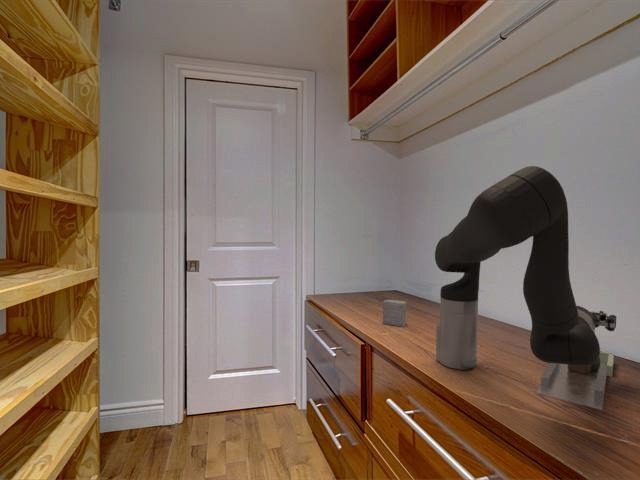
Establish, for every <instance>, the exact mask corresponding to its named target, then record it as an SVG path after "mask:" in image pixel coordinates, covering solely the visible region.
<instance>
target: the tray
mask: <svg viewBox="0 0 640 480" xmlns="http://www.w3.org/2000/svg"><path fill="white" fill-rule="evenodd" d="M614 354H615V353H613V352H608V351H607V352H606V351H601V350H600V355H599V357H600V362H605V363H607V377H610V378H611V377H613V373H614V361H615V360H614V359H615V358H614V357H615V355H614Z"/></svg>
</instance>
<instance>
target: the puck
mask: <svg viewBox="0 0 640 480" xmlns="http://www.w3.org/2000/svg"><path fill="white" fill-rule="evenodd" d="M599 367H600V357H599V358H598V360H597V361H596V362H595V363H594V364H591V371H598V369H599Z"/></svg>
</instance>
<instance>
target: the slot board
mask: <svg viewBox="0 0 640 480" xmlns="http://www.w3.org/2000/svg"><path fill="white" fill-rule="evenodd" d="M607 377H608V376H607V363H605V362H600V367H599V369H598V371H590V372H589V373H587V374H582V373H578V372H575V371H571V370H568V364H558V363H548V365H547V366H546V368H545V369H544V371H543V372H542V374H541V376H540V386H539V387H538V388H537V390H536V393H537V394H539V395H543V396H547V397H551V398H555V399H559V400H562V401H566V402H570V403H574V404H577V405H582V406H585V407H588V408H592V409H595V410H600V411H603V406H604V398H605V391H606V383H607V379H608V378H607Z"/></svg>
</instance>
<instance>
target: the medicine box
mask: <svg viewBox="0 0 640 480" xmlns="http://www.w3.org/2000/svg"><path fill="white" fill-rule="evenodd" d="M407 318H408V317H407V301H404V300H403V301H401V300H395V299H386V300H384V301H382V324H383V325H389V326H396V327H402V328H403V327H405V326H406V325H407V323H408V322H407Z"/></svg>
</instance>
